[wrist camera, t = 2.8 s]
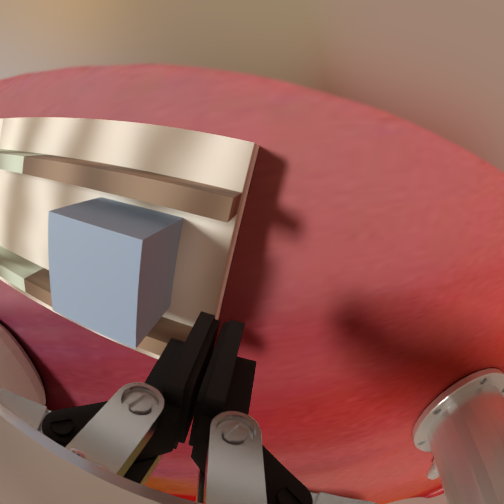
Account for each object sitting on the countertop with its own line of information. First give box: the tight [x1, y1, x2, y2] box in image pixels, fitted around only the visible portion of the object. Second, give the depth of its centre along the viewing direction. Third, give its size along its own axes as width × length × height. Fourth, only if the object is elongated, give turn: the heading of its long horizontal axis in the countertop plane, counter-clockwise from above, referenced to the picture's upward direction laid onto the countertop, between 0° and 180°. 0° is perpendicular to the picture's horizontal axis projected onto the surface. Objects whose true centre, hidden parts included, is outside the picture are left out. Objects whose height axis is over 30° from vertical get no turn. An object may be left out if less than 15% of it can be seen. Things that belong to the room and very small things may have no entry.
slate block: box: [48, 197, 183, 349], centre depth 15 cm, size 6×6×5 cm
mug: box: [0, 324, 46, 405], centre depth 25 cm, size 21×17×10 cm
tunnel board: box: [0, 117, 259, 359], centre depth 18 cm, size 34×16×5 cm, turn 76°
